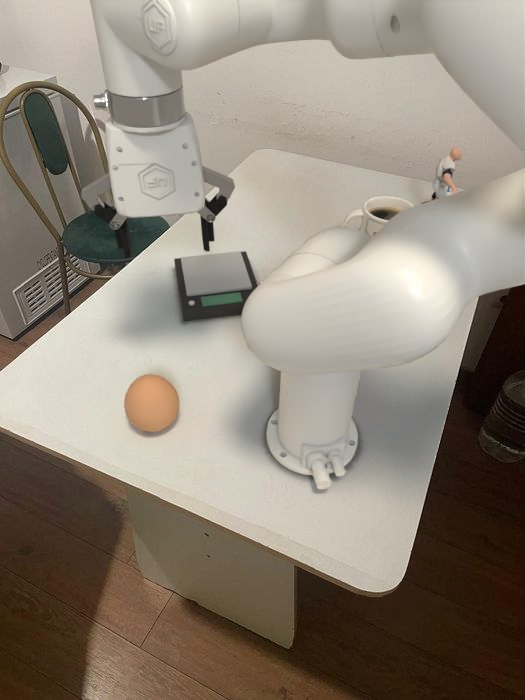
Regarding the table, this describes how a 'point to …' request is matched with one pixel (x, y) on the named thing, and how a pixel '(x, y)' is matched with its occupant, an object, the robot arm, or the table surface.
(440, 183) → the figurine
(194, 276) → the scale
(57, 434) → the table surface
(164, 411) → the egg
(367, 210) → the mug
